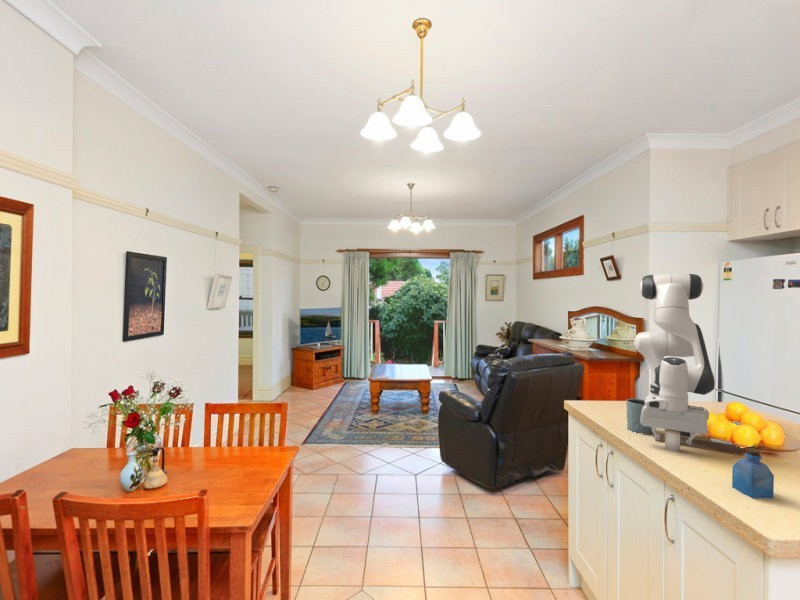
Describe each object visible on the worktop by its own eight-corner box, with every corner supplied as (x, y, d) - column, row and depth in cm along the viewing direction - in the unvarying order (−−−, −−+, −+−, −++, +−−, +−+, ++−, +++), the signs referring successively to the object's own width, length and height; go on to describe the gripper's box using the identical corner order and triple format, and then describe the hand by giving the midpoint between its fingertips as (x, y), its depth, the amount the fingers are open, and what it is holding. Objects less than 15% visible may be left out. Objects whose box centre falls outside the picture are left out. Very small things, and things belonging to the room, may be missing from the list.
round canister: (664, 446, 151) (664, 427, 151) (679, 448, 148) (679, 429, 148) (665, 450, 147) (665, 430, 147) (680, 452, 145) (680, 432, 145)
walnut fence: (655, 439, 158) (655, 430, 158) (741, 453, 145) (742, 442, 145) (655, 441, 156) (655, 431, 156) (743, 455, 143) (743, 444, 143)
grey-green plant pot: (623, 425, 175) (624, 397, 175) (650, 428, 172) (651, 399, 171) (628, 433, 165) (629, 403, 165) (657, 436, 162) (658, 405, 162)
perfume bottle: (753, 487, 118) (753, 446, 118) (773, 498, 112) (774, 454, 112) (732, 487, 118) (732, 445, 118) (751, 498, 112) (752, 454, 112)
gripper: (707, 405, 145) (707, 445, 145) (640, 397, 155) (639, 434, 155) (710, 409, 140) (709, 450, 140) (640, 401, 150) (640, 439, 150)
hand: (672, 442), depth 148 cm, fingers open, 8 cm apart
